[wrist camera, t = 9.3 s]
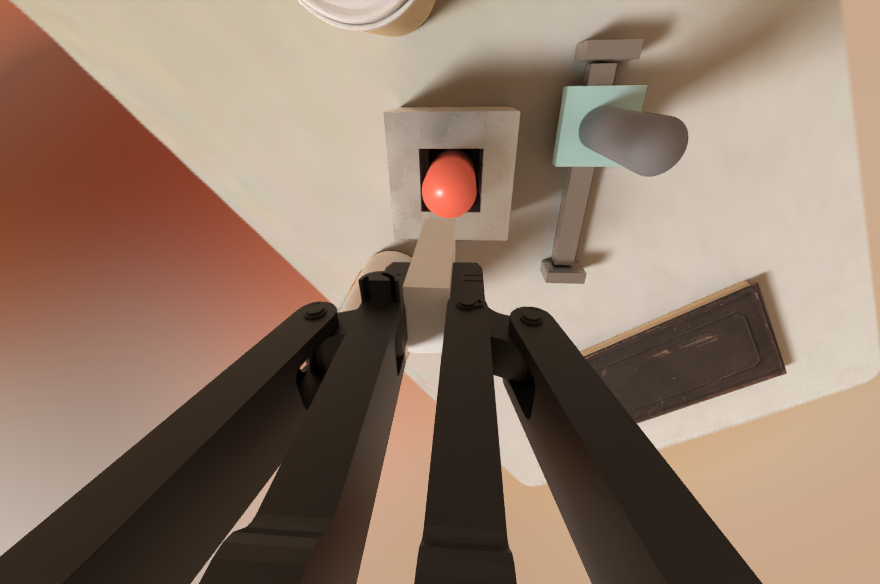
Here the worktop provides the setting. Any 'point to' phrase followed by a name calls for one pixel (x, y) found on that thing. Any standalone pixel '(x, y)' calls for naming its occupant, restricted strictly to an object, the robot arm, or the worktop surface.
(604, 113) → the carriage
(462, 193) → the button
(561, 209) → the rail
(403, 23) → the coffee cup
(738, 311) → the hardcover book
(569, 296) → the worktop surface
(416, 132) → the grey block with hole
